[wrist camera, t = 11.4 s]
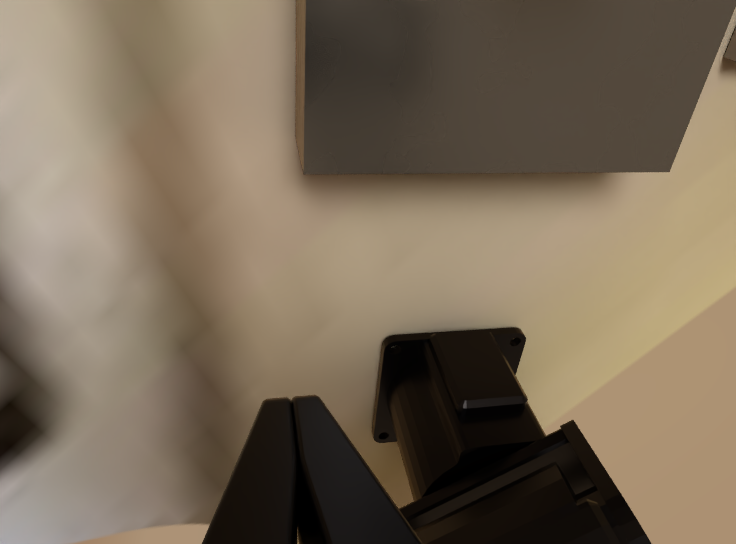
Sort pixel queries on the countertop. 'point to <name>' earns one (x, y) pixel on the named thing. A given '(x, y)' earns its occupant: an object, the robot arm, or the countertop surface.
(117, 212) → the countertop surface
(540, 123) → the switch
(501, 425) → the robot arm
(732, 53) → the holster
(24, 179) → the countertop surface
